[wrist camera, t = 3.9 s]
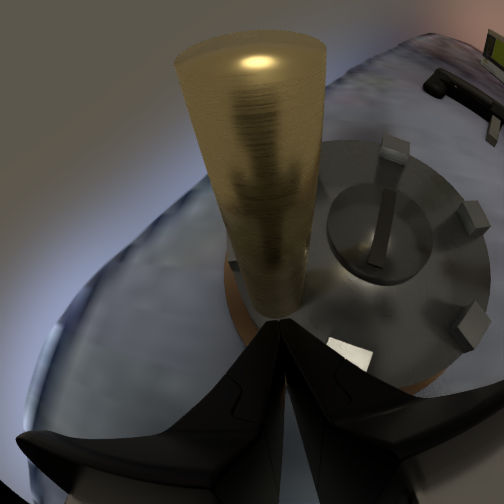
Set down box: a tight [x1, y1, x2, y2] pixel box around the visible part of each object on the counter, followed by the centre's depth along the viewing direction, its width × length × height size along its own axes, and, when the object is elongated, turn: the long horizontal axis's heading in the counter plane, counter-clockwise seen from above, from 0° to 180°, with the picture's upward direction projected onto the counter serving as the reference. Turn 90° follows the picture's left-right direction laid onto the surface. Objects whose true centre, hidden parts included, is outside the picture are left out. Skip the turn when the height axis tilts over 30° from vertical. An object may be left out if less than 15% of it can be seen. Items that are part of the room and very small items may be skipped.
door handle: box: [423, 68, 504, 147], centre depth 26 cm, size 3×20×16 cm
